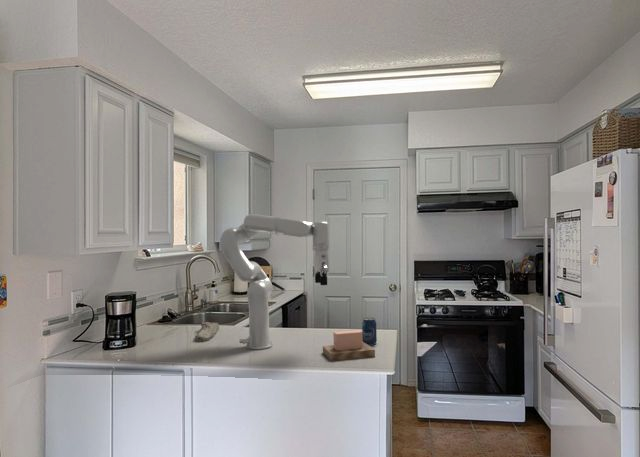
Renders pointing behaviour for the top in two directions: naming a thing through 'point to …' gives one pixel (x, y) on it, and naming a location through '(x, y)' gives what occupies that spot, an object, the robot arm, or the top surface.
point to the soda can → (369, 331)
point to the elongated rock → (207, 331)
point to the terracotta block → (348, 340)
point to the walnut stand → (348, 352)
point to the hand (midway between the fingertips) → (321, 283)
